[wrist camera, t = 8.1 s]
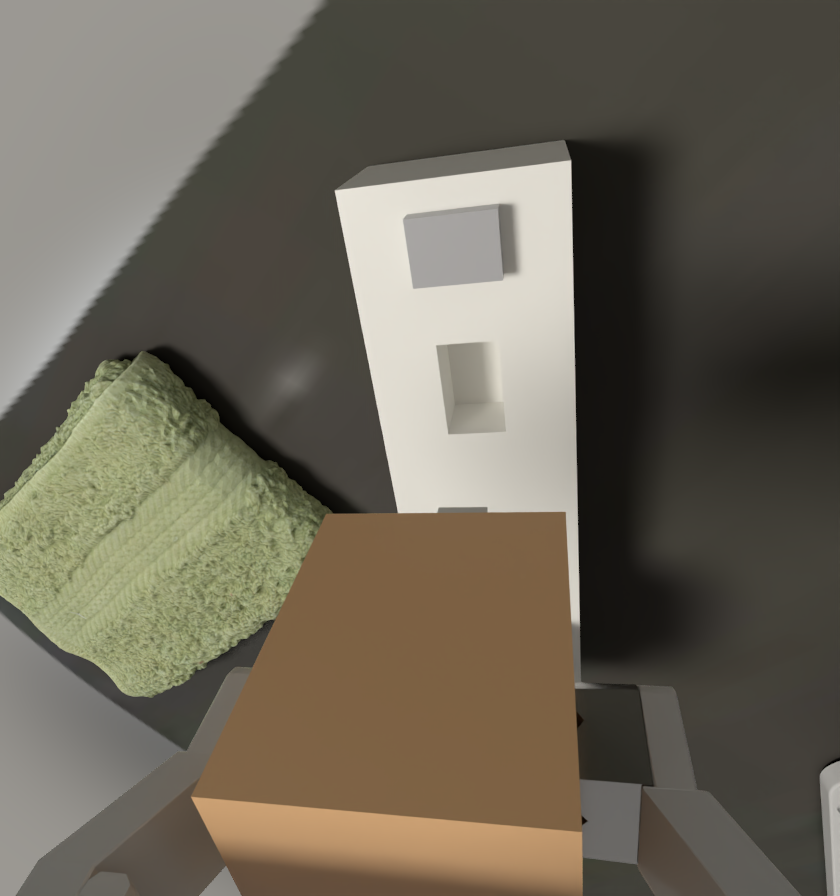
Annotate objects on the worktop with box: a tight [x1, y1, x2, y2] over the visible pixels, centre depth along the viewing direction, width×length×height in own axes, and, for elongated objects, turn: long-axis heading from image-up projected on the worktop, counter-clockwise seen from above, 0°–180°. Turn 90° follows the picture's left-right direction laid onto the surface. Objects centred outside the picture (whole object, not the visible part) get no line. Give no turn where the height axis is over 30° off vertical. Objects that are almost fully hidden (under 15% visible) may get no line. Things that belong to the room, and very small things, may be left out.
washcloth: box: [0, 351, 333, 697], centre depth 29 cm, size 13×18×3 cm
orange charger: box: [191, 507, 583, 896], centre depth 11 cm, size 5×4×7 cm
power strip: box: [335, 140, 581, 683], centre depth 23 cm, size 22×6×5 cm, turn 8°
